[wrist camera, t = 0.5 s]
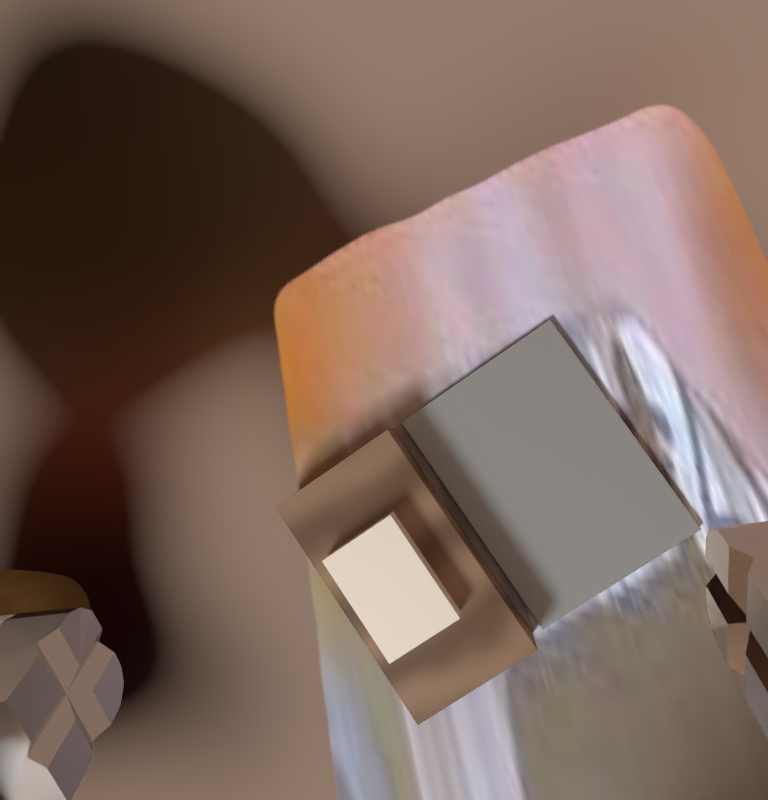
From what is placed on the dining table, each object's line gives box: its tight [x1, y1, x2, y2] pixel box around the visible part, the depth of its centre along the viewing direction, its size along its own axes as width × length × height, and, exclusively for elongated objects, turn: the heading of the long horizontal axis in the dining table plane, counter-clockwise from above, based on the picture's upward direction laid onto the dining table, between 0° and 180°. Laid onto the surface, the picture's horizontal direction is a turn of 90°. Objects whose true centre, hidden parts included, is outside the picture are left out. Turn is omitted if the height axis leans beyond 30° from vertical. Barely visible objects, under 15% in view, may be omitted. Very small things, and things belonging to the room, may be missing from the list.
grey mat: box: [402, 320, 701, 629], centre depth 56 cm, size 22×16×1 cm
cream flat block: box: [322, 511, 460, 664], centre depth 53 cm, size 10×7×2 cm
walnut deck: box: [276, 428, 537, 724], centre depth 56 cm, size 22×12×4 cm, turn 35°
